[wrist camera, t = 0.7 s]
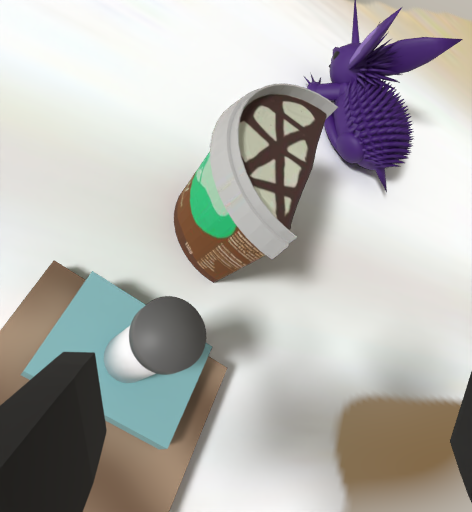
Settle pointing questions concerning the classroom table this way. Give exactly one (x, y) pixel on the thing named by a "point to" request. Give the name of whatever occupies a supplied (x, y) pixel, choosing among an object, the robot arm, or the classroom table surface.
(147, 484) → the bench base
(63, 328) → the teal plate with post
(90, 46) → the classroom table surface
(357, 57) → the creature
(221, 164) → the food container
